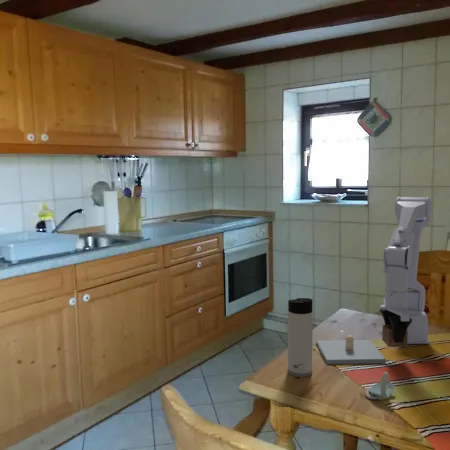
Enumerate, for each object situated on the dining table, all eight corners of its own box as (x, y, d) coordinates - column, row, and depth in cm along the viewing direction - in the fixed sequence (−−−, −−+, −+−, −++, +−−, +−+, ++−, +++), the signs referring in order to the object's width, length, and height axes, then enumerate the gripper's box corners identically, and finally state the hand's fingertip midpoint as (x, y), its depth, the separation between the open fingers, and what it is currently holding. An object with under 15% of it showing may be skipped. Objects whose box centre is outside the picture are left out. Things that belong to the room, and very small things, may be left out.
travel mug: (298, 380, 117) (298, 303, 114) (283, 370, 123) (283, 296, 120) (317, 374, 120) (318, 299, 117) (302, 365, 126) (302, 293, 123)
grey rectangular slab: (369, 343, 140) (370, 326, 139) (385, 363, 126) (386, 344, 125) (316, 344, 140) (316, 327, 139) (326, 363, 126) (326, 345, 125)
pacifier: (360, 399, 108) (386, 405, 104) (360, 373, 107) (386, 379, 103) (371, 386, 113) (396, 393, 110) (371, 362, 113) (396, 367, 109)
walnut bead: (400, 339, 130) (400, 324, 129) (407, 346, 125) (407, 330, 124) (382, 339, 130) (382, 324, 129) (388, 346, 125) (389, 331, 124)
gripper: (372, 283, 133) (371, 329, 135) (390, 297, 118) (389, 348, 120) (397, 283, 133) (396, 328, 134) (418, 297, 118) (416, 348, 120)
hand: (394, 338), depth 127 cm, fingers closed on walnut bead, 5 cm apart
